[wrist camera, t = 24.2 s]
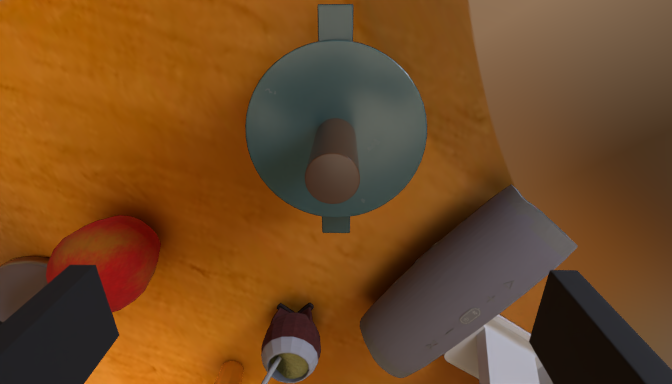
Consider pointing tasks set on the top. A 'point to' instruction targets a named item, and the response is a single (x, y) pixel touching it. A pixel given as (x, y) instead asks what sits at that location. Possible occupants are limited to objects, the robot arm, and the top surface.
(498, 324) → the phone holder
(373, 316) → the bluetooth speaker
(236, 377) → the milkshake
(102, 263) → the apple
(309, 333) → the mate gourd
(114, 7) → the top surface
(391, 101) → the lid
